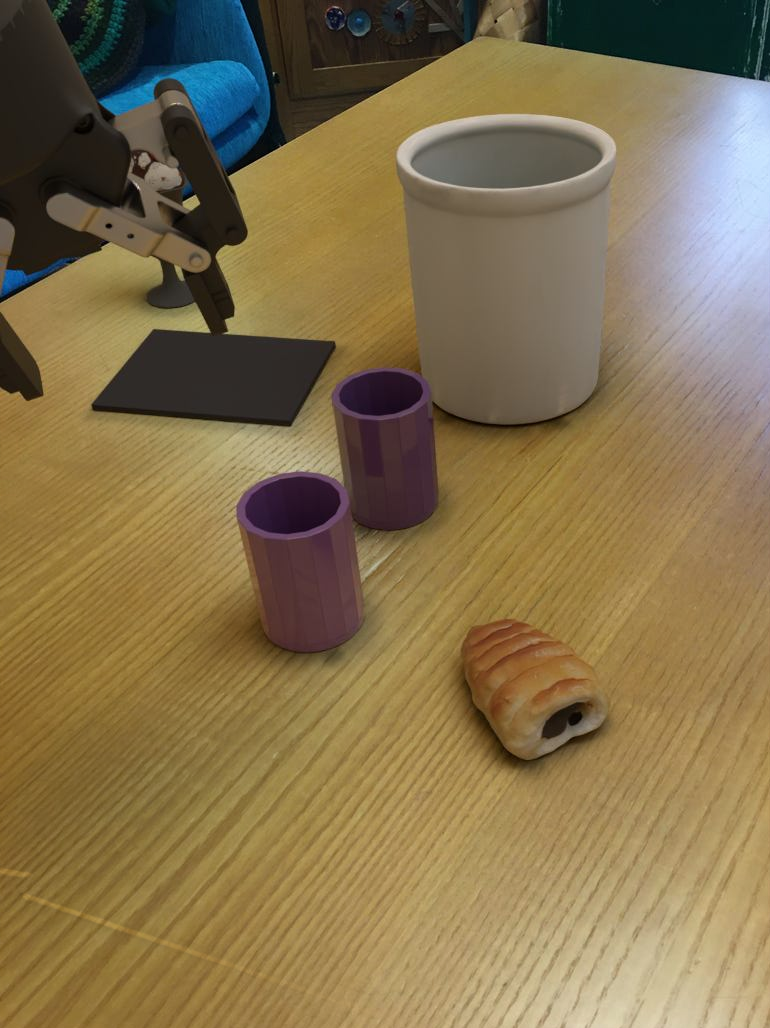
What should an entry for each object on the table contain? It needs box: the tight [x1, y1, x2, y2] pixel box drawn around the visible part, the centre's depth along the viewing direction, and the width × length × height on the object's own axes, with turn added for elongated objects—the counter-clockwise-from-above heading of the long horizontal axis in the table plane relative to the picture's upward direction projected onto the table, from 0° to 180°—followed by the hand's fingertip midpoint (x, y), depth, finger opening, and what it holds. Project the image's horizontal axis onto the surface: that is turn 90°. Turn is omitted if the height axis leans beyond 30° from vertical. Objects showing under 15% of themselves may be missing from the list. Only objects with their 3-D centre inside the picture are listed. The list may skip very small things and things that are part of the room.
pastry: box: [460, 618, 611, 761], centre depth 60 cm, size 9×7×4 cm
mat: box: [90, 328, 337, 427], centre depth 87 cm, size 16×12×1 cm
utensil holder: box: [395, 113, 618, 425], centre depth 80 cm, size 15×15×18 cm
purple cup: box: [235, 471, 366, 653], centre depth 64 cm, size 6×6×8 cm
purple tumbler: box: [330, 366, 439, 531], centre depth 72 cm, size 6×6×8 cm
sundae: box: [129, 150, 195, 309], centre depth 93 cm, size 7×7×15 cm
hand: (125, 353), depth 49 cm, fingers open, 8 cm apart
